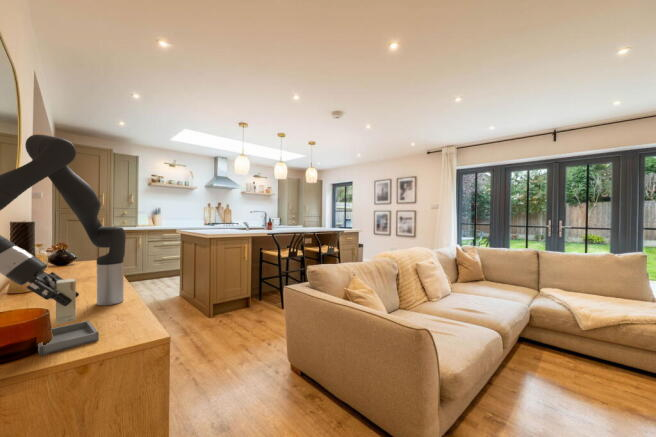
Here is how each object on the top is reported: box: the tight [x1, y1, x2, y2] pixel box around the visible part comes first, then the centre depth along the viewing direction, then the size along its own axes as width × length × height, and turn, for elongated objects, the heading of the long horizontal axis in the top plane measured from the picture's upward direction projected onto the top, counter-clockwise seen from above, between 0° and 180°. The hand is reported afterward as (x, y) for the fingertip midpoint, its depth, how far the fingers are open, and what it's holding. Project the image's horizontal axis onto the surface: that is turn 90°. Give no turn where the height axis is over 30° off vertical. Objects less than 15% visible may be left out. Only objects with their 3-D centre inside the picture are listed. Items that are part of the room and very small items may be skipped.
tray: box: [37, 319, 100, 357], centre depth 85 cm, size 15×13×2 cm
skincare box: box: [55, 278, 77, 325], centre depth 85 cm, size 6×4×12 cm
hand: (72, 300), depth 86 cm, fingers closed on skincare box, 7 cm apart
